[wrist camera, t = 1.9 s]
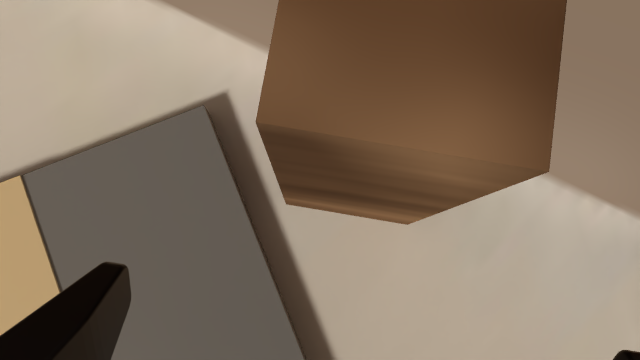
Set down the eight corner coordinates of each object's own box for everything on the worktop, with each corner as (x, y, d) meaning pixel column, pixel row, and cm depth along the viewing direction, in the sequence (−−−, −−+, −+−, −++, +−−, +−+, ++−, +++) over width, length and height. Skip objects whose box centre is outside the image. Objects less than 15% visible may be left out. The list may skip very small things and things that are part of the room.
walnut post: (407, 224, 22) (549, 171, 9) (286, 204, 22) (255, 122, 9) (424, 107, 23) (576, -96, 10) (306, 87, 23) (305, -141, 10)
